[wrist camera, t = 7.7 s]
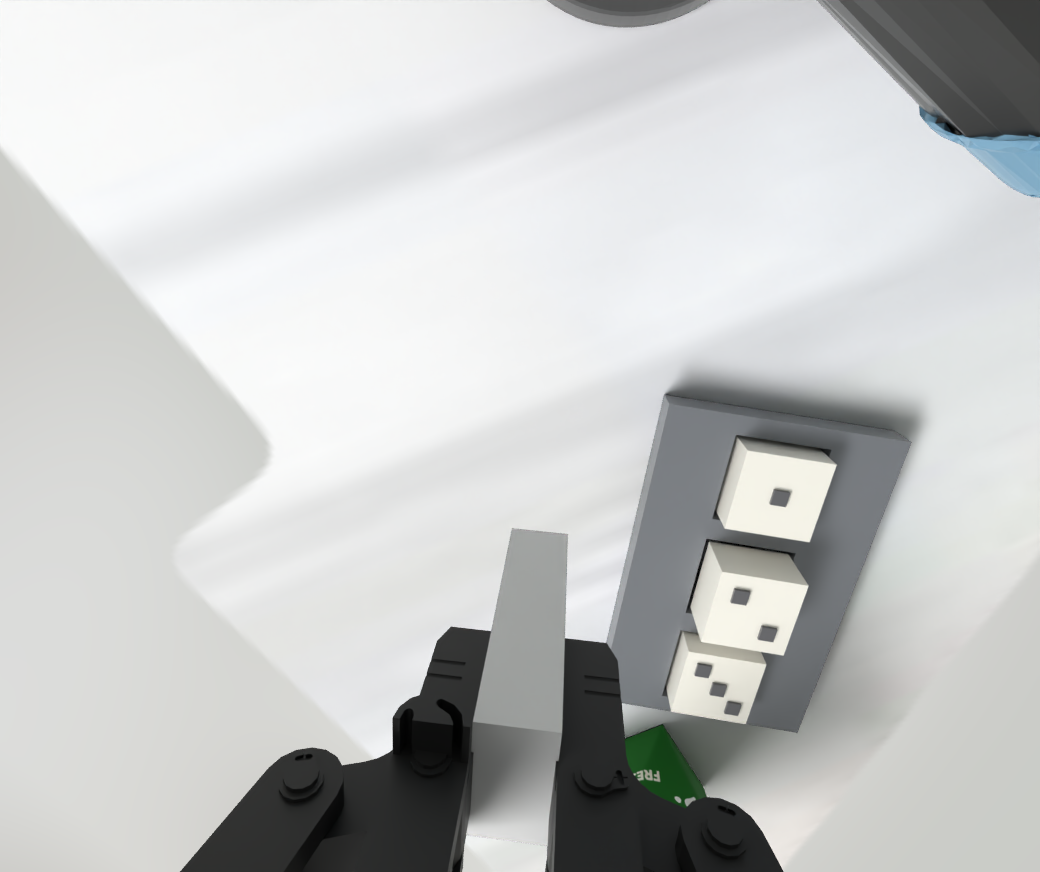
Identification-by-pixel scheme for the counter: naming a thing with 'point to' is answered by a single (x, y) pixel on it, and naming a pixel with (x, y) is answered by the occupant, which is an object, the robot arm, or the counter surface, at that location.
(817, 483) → the key one
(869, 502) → the keypad board
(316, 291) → the counter surface
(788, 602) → the key two
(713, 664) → the key three
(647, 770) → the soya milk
